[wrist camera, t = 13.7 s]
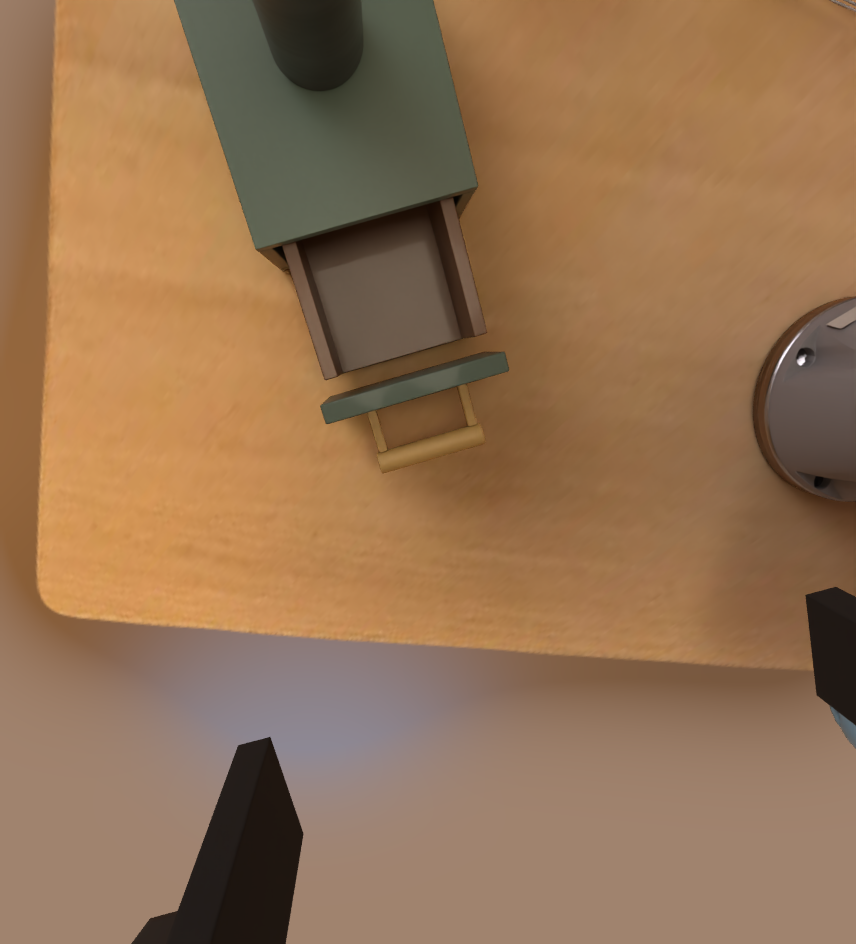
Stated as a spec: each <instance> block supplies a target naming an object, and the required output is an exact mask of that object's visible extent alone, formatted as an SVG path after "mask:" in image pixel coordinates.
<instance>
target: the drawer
mask: <svg viewBox="0 0 856 944" xmlns="http://www.w3.org/2000/svg"><path fill="white" fill-rule="evenodd" d="M282 247H283V251H284V254H285V257H286V260H287V263H288V266H289V269H290V273H291V276H292V279H293V282H294V285H295V288H296V291H297V295H298V298H299V301H300V304H301V307H302V310H303V313H304V317H305V320H306V323H307V326H308V329H309V332H310V335H311V339H312V342H313V345H314V348H315V351H316V354H317V357H318V361H319V364H320V367H321V370H322V373H323V376H324V379H325V380H327V379H331V378H334V377H337V376H339V375H341V374H343V373H346V372H349V371H353V370H356V369H360V368H363V367H367V366H370V365H373V364H377V363H380V362H384V361H387V360H391V359H394V358H398V357H401V356H404V355H408V354H411V353H415V352H418V351H422V350H425V349H429V348H432V347H435V346H439V345H442V344H446V343H449V342H453V341H456V340H460V339H463V338H469V337H476V336H479V335H482V334H486V333H487V330H486V326H485V322H484V318H483V314H482V310H481V306H480V302H479V298H478V294H477V290H476V286H475V282H474V278H473V274H472V270H471V266H470V262H469V258H468V255H467V251H466V247H465V243H464V239H463V235H462V231H461V227H460V223H459V219H458V215H457V211H456V207H455V203H454V199H453V197H450V198H447V199H443V200H440V201H436V202H433V203H429V204H426V205H422V206H419V207H415V208H412V209H408V210H405V211H401V212H397V213H394V214H390V215H387V216H383V217H380V218H376V219H373V220H369V221H366V222H362V223H359V224H355V225H352V226H348V227H345V228H341V229H338V230H334V231H331V232H327V233H324V234H320V235H317V236H313V237H310V238H306V239H303V240H299V241H296V242H292V243H289V244H285V245H282ZM508 371H509V367H508V363H507V359H506V355H505V352H482V353H478V354H475V355H471V356H468V357H464V358H461V359H457V360H454V361H451V362H447V363H444V364H440V365H437V366H433V367H430V368H427V369H423V370H420V371H416V372H413V373H409V374H406V375H402V376H399V377H396V378H392V379H389V380H385V381H382V382H378V383H375V384H372V385H368V386H365V387H361V388H358V389H354V390H351V391H347V392H344V393H341V394H337V395H334V396H330V397H329V398H328V399H327V400H326V401H325V402H324V403H323V404H322V405H320V407H321V410H322V413H323V416H324V419H325V422H326V424H330V423H333V422H337V421H340V420H344V419H347V418H350V417H354V416H357V415H361V414H364V413H367V415H368V418H369V422H370V425H371V428H372V431H373V435H374V438H375V441H376V444H377V448H378V451H379V452H378V453H377V459H378V463H379V466H380V469H381V472H382V473H387V472H390V471H394V470H397V469H400V468H404V467H407V466H411V465H414V464H417V463H421V462H424V461H428V460H431V459H434V458H438V457H441V456H445V455H448V454H451V453H455V452H458V451H462V450H465V449H468V448H472V447H475V446H479V445H482V444H485V436H484V432H483V429H482V426H481V424H480V423H477V421H476V417H475V413H474V409H473V406H472V402H471V398H470V394H469V390H468V387H467V383H470V382H474V381H477V380H481V379H484V378H487V377H491V376H494V375H498V374H501V373H505V372H508ZM453 387H457V389H458V392H459V396H460V400H461V404H462V407H463V411H464V415H465V418H466V422H467V425H468V426H467V427H464V428H460V429H457V430H453V431H450V432H447V433H443V434H440V435H436V436H433V437H430V438H426V439H423V440H419V441H416V442H413V443H409V444H406V445H402V446H399V447H396V448H392V449H389V450H388V448H387V444H386V441H385V438H384V434H383V431H382V428H381V424H380V421H379V418H378V415H377V411H376V410H378V409H381V408H385V407H388V406H392V405H395V404H398V403H402V402H405V401H409V400H412V399H415V398H419V397H422V396H426V395H429V394H433V393H436V392H439V391H443V390H446V389H450V388H453Z"/></svg>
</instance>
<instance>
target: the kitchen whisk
mask: <svg viewBox="0 0 856 944" xmlns="http://www.w3.org/2000/svg"><path fill="white" fill-rule="evenodd" d="M830 1H832V2H834V3H836V4H838V5H840V6H843V7H845V8H847V9H850V10H852V11H854V12H856V9H854V8H852V7H850V6H847V5H845V4H843V3H841V2H838V1H836V0H830ZM844 1H846V2H848V3H850V4H852V5H854V6H856V3H855V2H853V1H850V0H844Z"/></svg>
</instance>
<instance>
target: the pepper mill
mask: <svg viewBox="0 0 856 944" xmlns="http://www.w3.org/2000/svg"><path fill="white" fill-rule="evenodd" d="M252 1H253V4H254V6H255V9H256V12H257V15H258V17H259V20H260V23H261V26H262V28H263V31H264V34H265V37H266V40H267V42H268V45H269V48H270V51H271V53H272V56H273V59H274V61H275V63H276V64H277V66H278V67H279V69H280V70H281V72H282V73H283V74H284V75H285V76H286V77H287V78H288V79H289V80H291V81H292V82H293V83H295V84H296V85H298V86H300V87H303V88H305V89H309V90H314V91H325V90H330V89H333V88H336V87H338V86H340V85H342V84H343V83H344V82H346V81H347V80H348V79H349V78H350V77H351V76H352V75H353V73H354V72H355V70H356V69H357V67H358V65H359V62H360V60H361V57H362V52H363V20H362V0H252Z"/></svg>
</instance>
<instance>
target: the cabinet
mask: <svg viewBox="0 0 856 944" xmlns="http://www.w3.org/2000/svg"><path fill="white" fill-rule="evenodd" d="M174 2H175V5H176V8H177V11H178V14H179V17H180V20H181V23H182V26H183V29H184V32H185V35H186V38H187V41H188V44H189V48H190V51H191V54H192V57H193V60H194V63H195V66H196V69H197V72H198V75H199V78H200V81H201V84H202V87H203V90H204V93H205V96H206V99H207V102H208V105H209V108H210V112H211V115H212V118H213V121H214V124H215V127H216V130H217V133H218V136H219V139H220V142H221V145H222V148H223V151H224V154H225V157H226V160H227V163H228V166H229V169H230V172H231V176H232V179H233V182H234V185H235V188H236V191H237V194H238V197H239V200H240V203H241V206H242V209H243V212H244V215H245V218H246V221H247V224H248V227H249V230H250V233H251V236H252V240H253V243H254V246H255V249H256V250H257V251H258V252H260V253H261V254H262V255H264V256H265V257H266V258H267V259H268V260H270V261H271V262H272V263H273V264H274V265H276V266H277V267H278V268H279V269H280V270H282V271H283V270H286V269H289V266H288V263H287V260H286V257H285V254H284V251H283V247H282V245H285V244H289V243H292V242H296V241H299V240H303V239H306V238H310V237H313V236H317V235H320V234H324V233H327V232H331V231H334V230H338V229H341V228H345V227H348V226H352V225H355V224H359V223H362V222H366V221H369V220H373V219H376V218H380V217H383V216H387V215H390V214H394V213H397V212H401V211H405V210H408V209H412V208H415V207H419V206H422V205H426V204H429V203H433V202H436V201H440V200H443V199H447V198H450V197H453V199H454V203H455V207H456V211H457V215H458V219H459V217H460V216H461V214H462V212H463V211H464V209H465V207H466V205H467V204H468V202H469V200H470V199H471V197H472V195H473V194H474V192H475V190H476V189H477V188H478V182H477V178H476V174H475V170H474V166H473V162H472V158H471V154H470V149H469V145H468V141H467V137H466V133H465V129H464V125H463V121H462V117H461V113H460V108H459V104H458V100H457V96H456V92H455V88H454V84H453V80H452V76H451V71H450V67H449V63H448V59H447V55H446V51H445V47H444V43H443V39H442V34H441V30H440V26H439V22H438V18H437V14H436V10H435V6H434V2H433V0H362V20H363V52H362V57H361V60H360V62H359V65H358V67H357V69H356V70H355V72H354V73H353V75H352V76H351V77H350V78H349V79H348V80H347V81H346V82H344V83H343V84H342V85H340V86H338V87H336V88H333V89H330V90H325V91H314V90H309V89H305V88H303V87H300V86H298V85H296V84H295V83H293V82H292V81H291V80H289V79H288V78H287V77H286V76H285V75H284V74H283V73H282V72H281V70H280V69H279V67H278V66H277V64H276V63H275V61H274V59H273V56H272V53H271V51H270V48H269V45H268V42H267V40H266V37H265V34H264V31H263V28H262V26H261V23H260V20H259V17H258V15H257V12H256V9H255V6H254V4H253V1H252V0H174Z"/></svg>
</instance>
